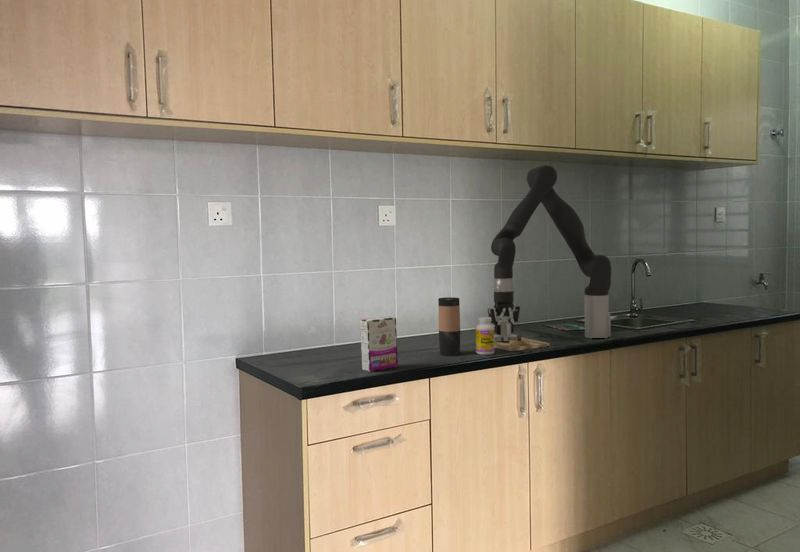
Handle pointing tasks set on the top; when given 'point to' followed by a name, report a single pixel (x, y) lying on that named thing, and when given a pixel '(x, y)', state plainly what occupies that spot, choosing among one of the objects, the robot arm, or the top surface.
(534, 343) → the carrier board
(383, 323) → the candy bar box
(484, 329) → the supplement bottle
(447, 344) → the travel mug
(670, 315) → the top surface
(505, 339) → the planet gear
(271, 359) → the top surface
